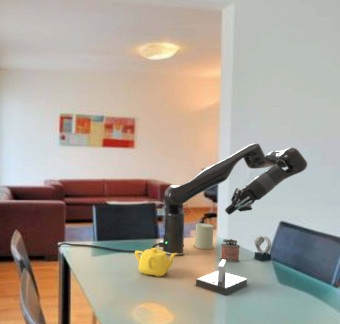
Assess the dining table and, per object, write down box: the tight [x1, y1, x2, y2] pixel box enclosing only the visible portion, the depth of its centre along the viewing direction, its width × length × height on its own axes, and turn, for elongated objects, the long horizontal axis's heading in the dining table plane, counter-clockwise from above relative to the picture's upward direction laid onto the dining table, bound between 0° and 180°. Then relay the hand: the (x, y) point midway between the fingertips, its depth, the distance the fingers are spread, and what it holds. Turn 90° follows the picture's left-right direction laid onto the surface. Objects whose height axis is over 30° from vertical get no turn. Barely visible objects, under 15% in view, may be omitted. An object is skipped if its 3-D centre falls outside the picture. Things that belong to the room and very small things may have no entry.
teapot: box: [134, 247, 178, 278], centre depth 158 cm, size 14×13×10 cm
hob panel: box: [195, 270, 248, 296], centre depth 145 cm, size 16×13×3 cm
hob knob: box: [217, 260, 227, 282], centre depth 145 cm, size 8×2×6 cm, turn 153°
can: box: [194, 223, 215, 250], centre depth 202 cm, size 9×9×12 cm
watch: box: [253, 235, 272, 262], centre depth 182 cm, size 6×8×11 cm
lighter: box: [220, 238, 240, 263], centre depth 178 cm, size 8×3×10 cm, turn 84°
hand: (226, 212), depth 157 cm, fingers closed
